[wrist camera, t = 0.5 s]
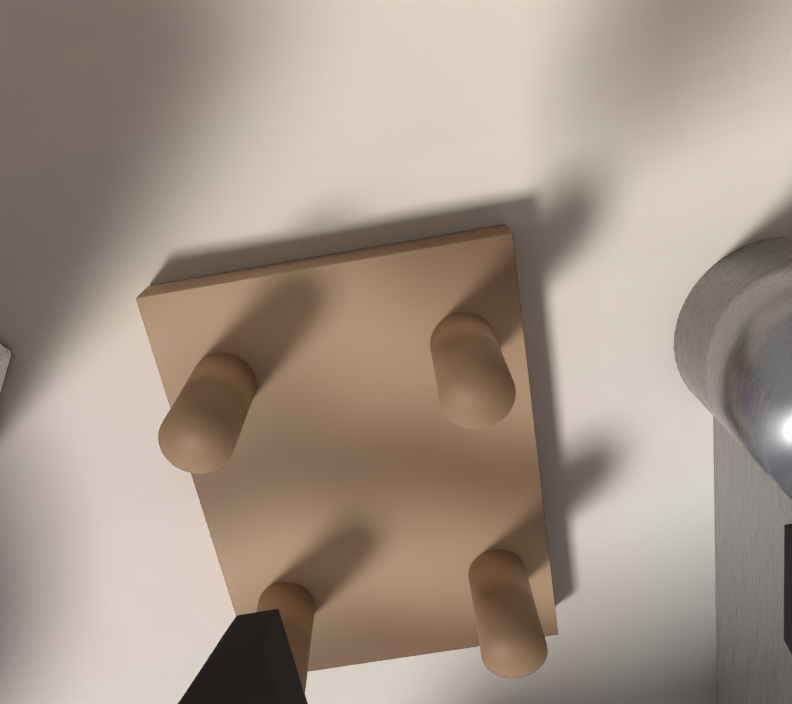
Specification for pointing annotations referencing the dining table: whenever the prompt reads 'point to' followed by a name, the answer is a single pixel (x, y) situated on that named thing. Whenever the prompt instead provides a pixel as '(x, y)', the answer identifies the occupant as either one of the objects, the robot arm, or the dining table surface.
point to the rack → (366, 448)
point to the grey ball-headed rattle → (747, 456)
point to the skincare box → (4, 363)
